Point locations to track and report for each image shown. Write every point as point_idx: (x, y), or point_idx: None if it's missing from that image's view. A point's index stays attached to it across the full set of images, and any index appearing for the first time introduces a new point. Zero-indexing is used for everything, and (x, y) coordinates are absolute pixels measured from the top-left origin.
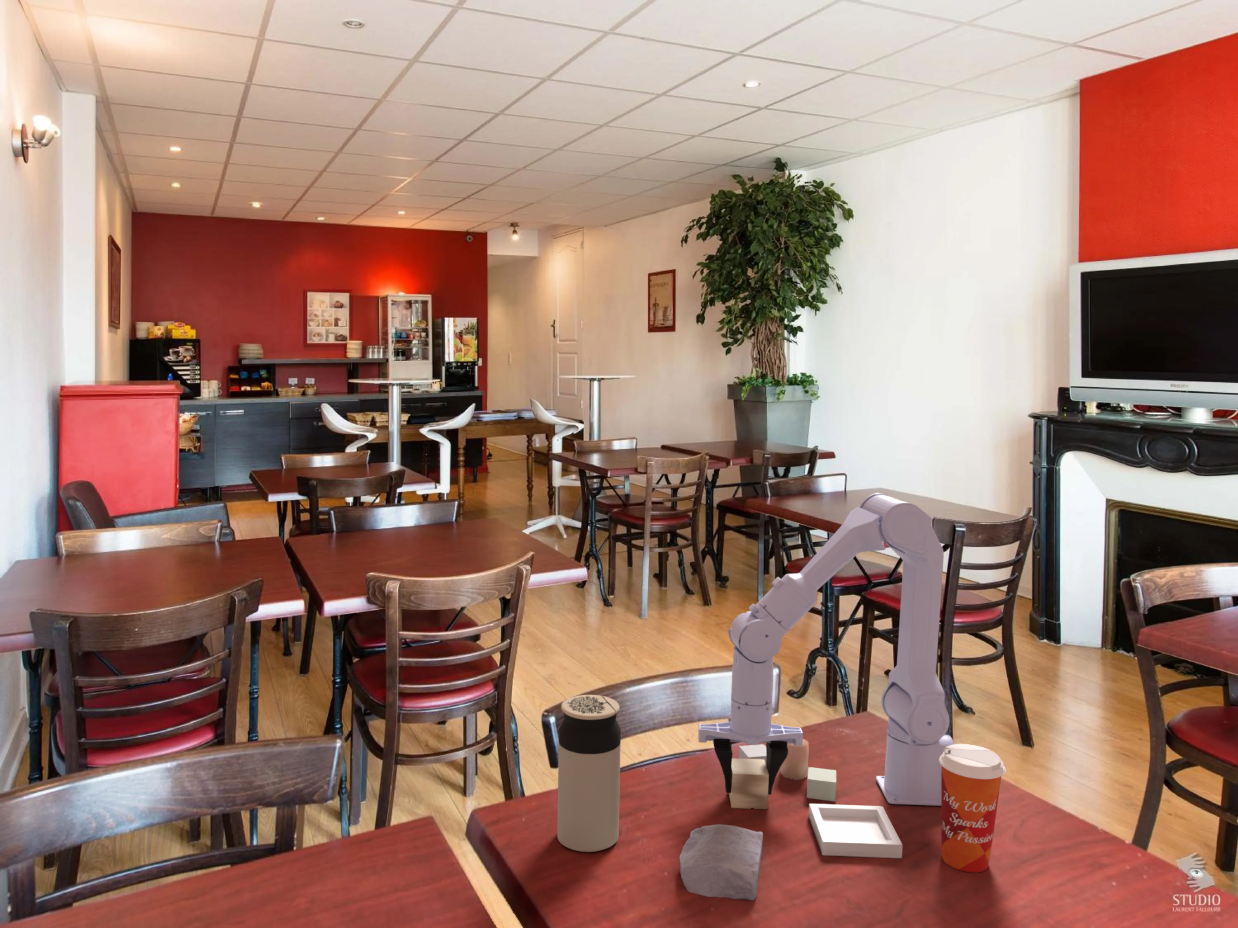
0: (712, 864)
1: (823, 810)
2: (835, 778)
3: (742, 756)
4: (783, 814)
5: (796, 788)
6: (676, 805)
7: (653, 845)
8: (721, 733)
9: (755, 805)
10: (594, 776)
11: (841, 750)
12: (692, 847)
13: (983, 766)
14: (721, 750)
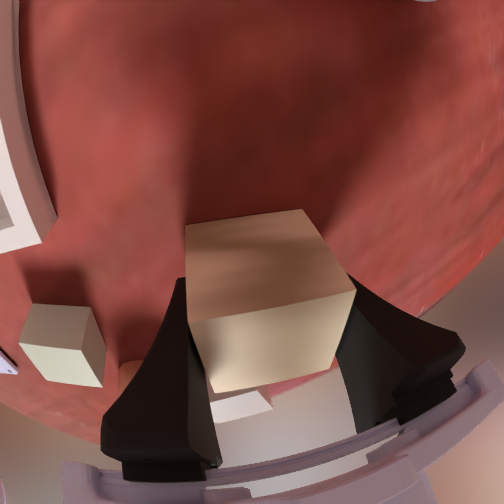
0: None
1: (7, 223)
2: (29, 355)
3: (264, 388)
4: (129, 205)
5: (124, 335)
6: (426, 197)
7: (480, 31)
8: (469, 426)
9: (226, 225)
10: None
11: (98, 416)
12: None
13: None
14: (451, 357)
